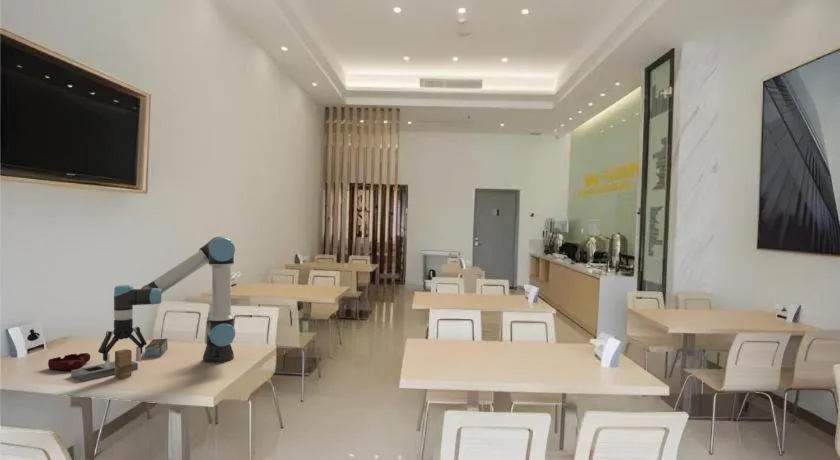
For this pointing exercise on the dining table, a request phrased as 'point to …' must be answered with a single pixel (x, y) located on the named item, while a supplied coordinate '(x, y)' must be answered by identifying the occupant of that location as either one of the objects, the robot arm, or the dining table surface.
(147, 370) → the dining table surface
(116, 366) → the walnut block
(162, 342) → the beverage carton
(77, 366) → the dark red curved piece
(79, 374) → the steel rail
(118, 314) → the robot arm
